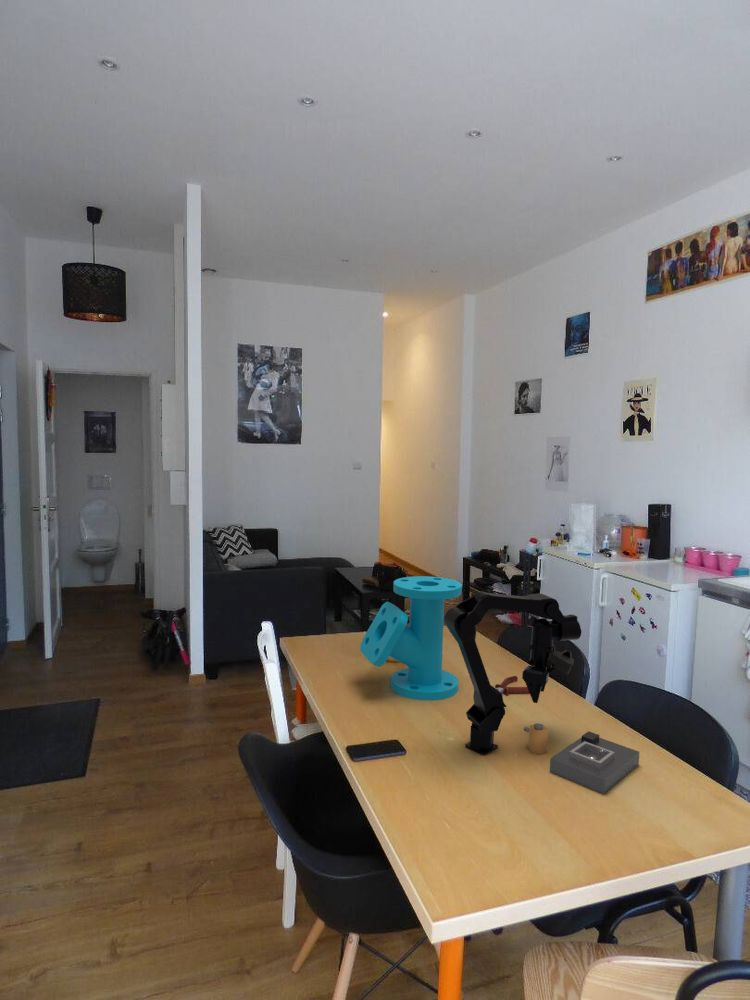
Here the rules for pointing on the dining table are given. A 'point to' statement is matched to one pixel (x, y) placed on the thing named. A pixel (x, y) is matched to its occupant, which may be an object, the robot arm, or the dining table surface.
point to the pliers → (511, 690)
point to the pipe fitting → (414, 638)
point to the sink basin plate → (594, 762)
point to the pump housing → (537, 738)
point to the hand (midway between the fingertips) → (538, 696)
